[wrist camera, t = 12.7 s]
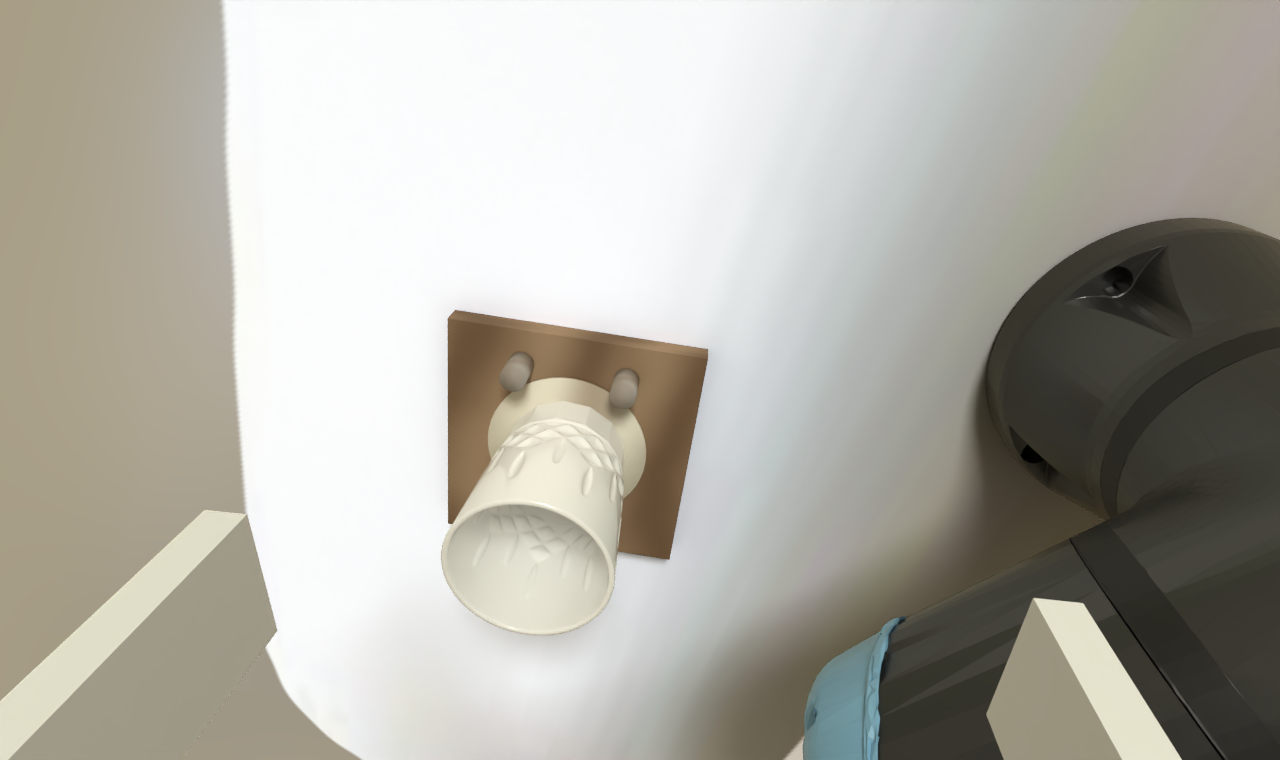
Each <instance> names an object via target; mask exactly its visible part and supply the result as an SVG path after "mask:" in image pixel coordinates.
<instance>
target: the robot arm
mask: <svg viewBox="0 0 1280 760" xmlns="http://www.w3.org/2000/svg"><path fill="white" fill-rule="evenodd" d="M986 391H987V401H988V406H989V410H990V414H991V417H992V420H993V422H994V425H995V427H996V429H997V431H998V432H999V434H1000V436H1001V437H1002V439H1003V440H1004V442H1005V443H1006V445H1007V446H1008V447H1009V449H1010V450H1011V452H1012V453H1013V455H1014V456H1015V457H1016V459H1017V460H1018V461H1019V463H1020V464H1021V465H1022V466H1023V467H1024V468H1025V469H1026V470H1027V471H1028V472H1029V473H1030V474H1031V475H1032V476H1033V477H1035V478H1036V479H1037V480H1038V481H1039V482H1041V483H1042V484H1043V485H1045V486H1046V487H1048V488H1050V489H1051V490H1053V491H1055V492H1056V493H1058V494H1060V495H1062V496H1063V497H1065V498H1067V499H1069V500H1070V501H1072V502H1074V503H1076V504H1077V505H1079V506H1081V507H1083V508H1085V509H1086V510H1088V511H1090V512H1092V513H1093V514H1095V515H1097V516H1099V517H1100V518H1102V519H1104V520H1106V521H1105V522H1103V523H1101V524H1099V525H1097V526H1095V527H1093V528H1091V529H1089V530H1087V531H1085V532H1083V533H1081V534H1079V535H1076V536H1074V537H1071V538H1069V539H1067V540H1065V541H1063V542H1061V543H1059V544H1057V545H1055V546H1053V547H1051V548H1049V549H1047V550H1045V551H1043V552H1041V553H1039V554H1037V555H1035V556H1033V557H1031V558H1028V559H1026V560H1024V561H1022V562H1020V563H1018V564H1016V565H1014V566H1012V567H1010V568H1008V569H1006V570H1004V571H1002V572H1000V573H998V574H996V575H994V576H992V577H989V578H987V579H985V580H983V581H981V582H979V583H977V584H975V585H973V586H971V587H969V588H967V589H965V590H963V591H961V592H959V593H957V594H955V595H953V596H951V597H948V598H946V599H944V600H942V601H940V602H938V603H936V604H934V605H932V606H930V607H928V608H926V609H924V610H922V611H920V612H918V613H916V614H914V615H912V616H910V617H904V616H903V617H901V618H894V619H892V620H890V621H888V622H887V623H886V624H885V625H884V626H883V628H882V629H881V631H880V632H878V633H877V634H875V635H873V636H871V637H870V638H868V639H866V640H864V641H862V642H861V643H859V644H857V645H855V646H854V647H852V648H850V649H848V650H846V651H845V652H843V653H841V654H839V655H838V656H836V657H835V658H833V659H832V660H831V661H829V662H828V663H827V664H826V665H825V666H824V667H823V669H822V670H821V671H820V673H819V674H818V676H817V677H816V679H815V681H814V683H813V686H812V688H811V691H810V693H809V696H808V700H807V705H806V710H805V715H804V733H805V738H804V743H803V759H804V760H1280V240H1278V239H1276V238H1273V237H1271V236H1268V235H1265V234H1263V233H1260V232H1258V231H1255V230H1253V229H1250V228H1247V227H1245V226H1242V225H1238V224H1235V223H1231V222H1226V221H1221V220H1215V219H1205V218H1179V219H1169V220H1162V221H1156V222H1150V223H1146V224H1142V225H1138V226H1134V227H1131V228H1128V229H1125V230H1122V231H1119V232H1116V233H1113V234H1111V235H1109V236H1106V237H1104V238H1102V239H1099V240H1097V241H1095V242H1093V243H1091V244H1089V245H1087V246H1086V247H1084V248H1082V249H1080V250H1079V251H1077V252H1075V253H1074V254H1072V255H1071V256H1069V257H1068V258H1066V259H1065V260H1063V261H1062V262H1060V263H1059V264H1058V265H1056V266H1055V267H1054V268H1053V269H1051V270H1050V271H1049V272H1048V273H1047V274H1045V275H1044V276H1043V277H1042V278H1041V279H1040V280H1039V281H1038V282H1037V283H1036V284H1034V286H1033V287H1032V288H1031V289H1030V290H1029V291H1028V292H1027V293H1026V294H1025V295H1024V296H1023V298H1022V299H1021V300H1020V301H1019V302H1018V304H1017V305H1016V307H1015V308H1014V309H1013V311H1012V312H1011V314H1010V315H1009V317H1008V318H1007V320H1006V321H1005V323H1004V325H1003V327H1002V329H1001V331H1000V333H999V335H998V337H997V339H996V342H995V344H994V347H993V350H992V353H991V357H990V360H989V365H988V371H987V380H986ZM276 632H277V628H276V624H275V620H274V616H273V612H272V608H271V605H270V601H269V597H268V593H267V589H266V585H265V581H264V578H263V574H262V570H261V566H260V562H259V558H258V555H257V551H256V547H255V543H254V539H253V535H252V531H251V528H250V524H249V520H248V516H247V514H238V513H229V512H220V511H210V510H204V511H203V512H202V513H201V514H200V515H199V516H198V517H197V518H196V519H195V520H194V521H192V522H191V523H190V524H189V525H188V526H187V527H186V528H185V529H184V530H183V531H182V532H181V533H180V534H179V535H178V536H176V538H174V539H173V540H172V541H171V542H170V543H169V544H168V545H167V546H166V547H165V548H164V549H163V550H161V552H159V553H158V554H157V555H156V556H155V557H154V558H153V559H152V560H151V561H150V562H149V563H148V564H147V565H146V566H144V567H143V568H142V569H141V570H140V571H139V572H138V573H137V574H136V575H135V576H134V577H133V578H132V579H130V580H129V581H128V582H127V583H126V584H125V585H124V586H123V587H122V588H121V589H120V590H119V591H118V592H116V593H115V595H113V596H112V597H111V598H110V599H109V600H108V601H107V602H106V603H105V604H104V605H103V606H101V607H100V608H99V609H98V610H97V611H96V612H95V613H94V614H93V615H92V616H91V617H90V618H89V619H88V620H87V621H85V622H84V624H82V625H81V626H80V627H79V628H78V629H77V630H76V631H75V632H74V633H73V634H72V635H70V636H69V637H68V639H66V640H65V641H64V642H63V643H62V644H61V645H60V646H59V647H58V648H57V649H56V650H54V651H53V652H52V653H51V654H50V655H49V656H48V657H47V658H46V659H45V660H44V661H43V662H42V663H41V664H39V665H38V666H37V667H36V668H35V669H34V670H33V671H32V672H31V673H30V674H29V675H28V676H27V677H25V678H24V679H23V680H22V681H21V682H20V683H19V684H18V685H17V686H16V687H15V688H14V689H13V690H12V691H10V692H9V693H8V694H7V695H6V696H5V697H4V698H3V699H2V700H1V701H0V760H182V759H183V758H184V757H185V755H186V754H187V753H188V751H189V750H190V748H191V747H192V746H193V744H194V743H195V742H196V740H197V739H198V738H199V736H200V735H201V734H202V732H203V731H204V729H205V728H206V727H207V725H208V724H209V723H210V721H211V720H212V719H213V717H214V716H215V715H216V713H217V712H218V711H219V709H220V708H221V706H222V705H223V704H224V702H225V701H226V700H227V698H228V697H229V695H230V694H231V693H232V691H233V690H234V689H235V687H236V686H237V685H238V683H239V682H240V681H241V679H242V678H243V676H244V675H245V674H246V672H247V671H248V670H249V668H250V667H251V666H252V664H253V663H254V662H255V660H256V659H257V658H258V656H259V655H260V653H261V652H262V650H263V649H264V648H265V647H266V645H267V644H268V643H269V641H270V640H271V638H272V637H273V636H274V634H275V633H276Z"/></svg>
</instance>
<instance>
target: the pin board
mask: <svg viewBox="0 0 1280 760" xmlns="http://www.w3.org/2000/svg"><path fill="white" fill-rule="evenodd" d="M707 360H708V349H702V348H696V347H689V346H683V345H677V344H670V343H664V342H657V341H651V340H644V339H638V338H632V337H625V336H619V335H612V334H606V333H599V332H593V331H587V330H580V329H574V328H567V327H561V326H554V325H548V324H542V323H535V322H529V321H522V320H516V319H509V318H503V317H496V316H490V315H484V314H477V313H471V312H464V311H458V310H455V311H454V312H453V313H452V314H451V315H450V316H449V318H448V523H449V524H453V522H454V521H455V519H456V517H457V516H458V514H459V512H460V511H461V509H462V507H463V506H464V504H465V502H466V500H467V499H468V497H469V495H470V494H471V492H472V490H473V489H474V487H475V485H476V483H477V482H478V480H479V478H480V477H481V475H482V474H483V472H484V471H485V469H486V468H487V466H488V465H489V463H490V461H491V460H492V458H493V457H494V455H495V454H496V452H497V450H498V449H499V448H500V447H501V445H502V444H503V443H504V442H505V441H506V439H507V438H508V436H509V434H510V433H511V431H512V429H513V427H514V425H515V424H516V422H517V420H518V419H519V418H520V417H522V416H523V415H525V414H526V413H527V412H529V411H530V410H532V409H533V408H534V407H536V406H537V405H541V404H547V403H553V402H559V401H568V402H572V403H576V404H580V405H585V406H589V407H591V408H593V409H594V410H595V411H597V412H598V413H600V414H601V415H602V416H604V417H605V418H607V419H608V420H609V421H611V422H612V423H613V425H614V427H615V429H616V430H617V432H618V434H619V436H620V437H621V439H622V441H623V443H624V458H625V468H624V476H623V480H624V493H623V505H622V515H621V518H622V520H621V529H620V537H619V546H618V551H620V552H626V553H632V554H639V555H645V556H651V557H657V558H663V559H669V558H670V553H671V548H672V543H673V537H674V532H675V527H676V522H677V517H678V511H679V506H680V501H681V496H682V491H683V485H684V480H685V475H686V470H687V465H688V459H689V454H690V449H691V444H692V438H693V433H694V428H695V423H696V418H697V412H698V407H699V402H700V397H701V392H702V386H703V381H704V376H705V371H706V365H707Z"/></svg>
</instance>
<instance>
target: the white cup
mask: <svg viewBox="0 0 1280 760" xmlns="http://www.w3.org/2000/svg"><path fill="white" fill-rule="evenodd" d="M624 468H625V458H624V443H623V441H622V439H621V437H620V436H619V434H618V432H617V430H616V429H615V427H614V425H613V423H612V422H611V421H609V420H608V419H607V418H605V417H604V416H602V415H601V414H600V413H598V412H597V411H595V410H594V409H593V408H591V407H589V406H585V405H580V404H576V403H572V402H568V401H559V402H553V403H547V404H541V405H537V406H536V407H534V408H533V409H532V410H530V411H529V412H527V413H526V414H525V415H523V416H522V417H520V418H519V419H518V420H517V422H516V424H515V425H514V427H513V429H512V431H511V433H510V434H509V436H508V438H507V439H506V441H505V442H504V443H503V444H502V445H501V447H500V448H499V449H498V450H497V452H496V454H495V455H494V457H493V458H492V460H491V461H490V463H489V465H488V466H487V468H486V469H485V471H484V472H483V474H482V475H481V477H480V478H479V480H478V482H477V483H476V485H475V487H474V489H473V490H472V492H471V494H470V495H469V497H468V499H467V500H466V502H465V504H464V506H463V507H462V509H461V511H460V512H459V514H458V516H457V517H456V519H455V521H454V522H453V524H452V526H451V527H450V529H449V531H448V532H447V534H446V537H445V539H444V542H443V545H442V551H441V563H442V569H443V573H444V576H445V578H446V581H447V583H448V585H449V587H450V588H451V590H452V591H453V593H454V594H455V596H456V597H457V598H458V599H459V600H460V602H461V603H462V604H463V605H464V606H466V607H467V608H468V609H469V610H470V611H471V612H473V613H474V614H475V615H477V616H478V617H480V618H482V619H483V620H485V621H487V622H489V623H491V624H493V625H495V626H497V627H500V628H503V629H506V630H509V631H513V632H517V633H522V634H529V635H554V634H560V633H565V632H568V631H572V630H575V629H577V628H579V627H581V626H583V625H585V624H587V623H589V622H590V621H592V620H593V619H594V618H595V617H597V616H598V615H599V614H600V613H601V612H602V610H603V609H604V608H605V607H606V605H607V603H608V602H609V600H610V598H611V595H612V592H613V588H614V581H615V572H616V563H617V554H618V546H619V537H620V529H621V520H622V518H621V515H622V505H623V493H624V480H623V476H624Z"/></svg>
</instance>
